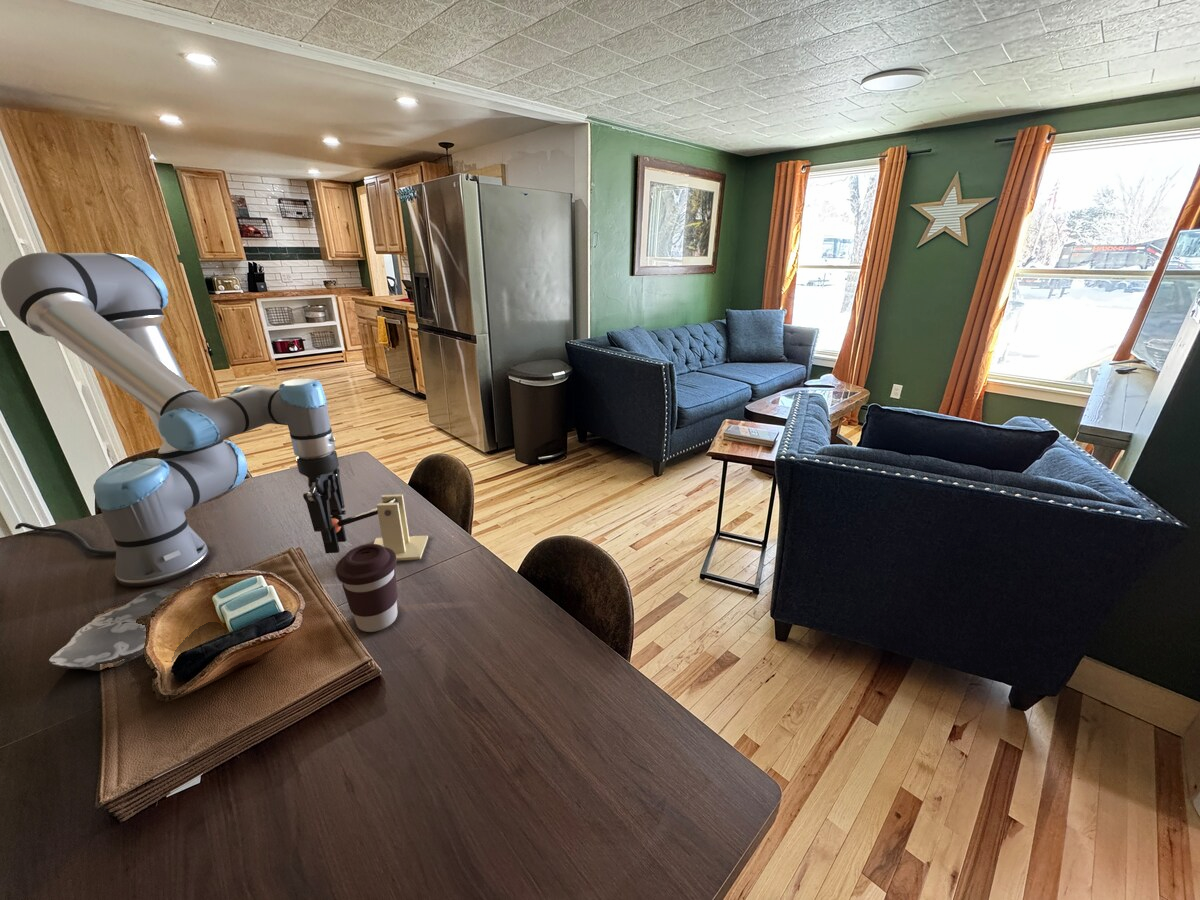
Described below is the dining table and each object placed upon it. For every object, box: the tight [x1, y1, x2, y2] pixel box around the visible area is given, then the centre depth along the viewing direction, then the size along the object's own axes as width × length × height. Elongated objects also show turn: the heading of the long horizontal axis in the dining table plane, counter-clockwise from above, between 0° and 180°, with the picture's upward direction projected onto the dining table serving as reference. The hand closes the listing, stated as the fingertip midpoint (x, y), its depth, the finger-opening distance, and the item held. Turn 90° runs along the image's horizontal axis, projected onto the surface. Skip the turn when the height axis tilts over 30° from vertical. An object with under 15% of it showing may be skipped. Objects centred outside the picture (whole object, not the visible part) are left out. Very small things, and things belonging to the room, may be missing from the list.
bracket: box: [373, 493, 429, 561], centre depth 109 cm, size 12×9×14 cm
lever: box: [331, 498, 400, 533], centre depth 107 cm, size 17×4×4 cm, turn 98°
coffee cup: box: [335, 543, 398, 633], centre depth 88 cm, size 10×10×15 cm
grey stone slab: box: [48, 587, 181, 672], centre depth 85 cm, size 20×17×3 cm
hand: (336, 546), depth 109 cm, fingers open, 4 cm apart
